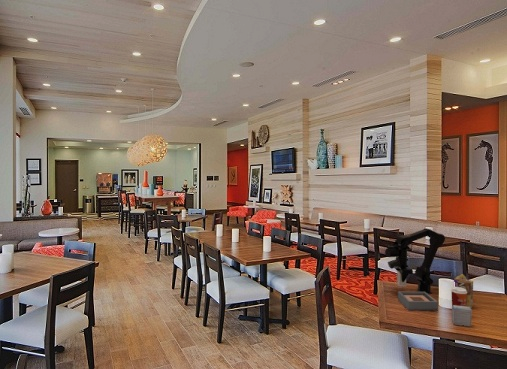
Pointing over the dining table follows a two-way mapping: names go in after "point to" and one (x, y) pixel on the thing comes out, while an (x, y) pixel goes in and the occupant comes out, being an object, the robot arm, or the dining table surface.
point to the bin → (417, 301)
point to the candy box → (469, 288)
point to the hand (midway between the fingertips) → (401, 280)
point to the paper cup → (458, 296)
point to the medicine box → (461, 315)
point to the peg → (400, 280)
